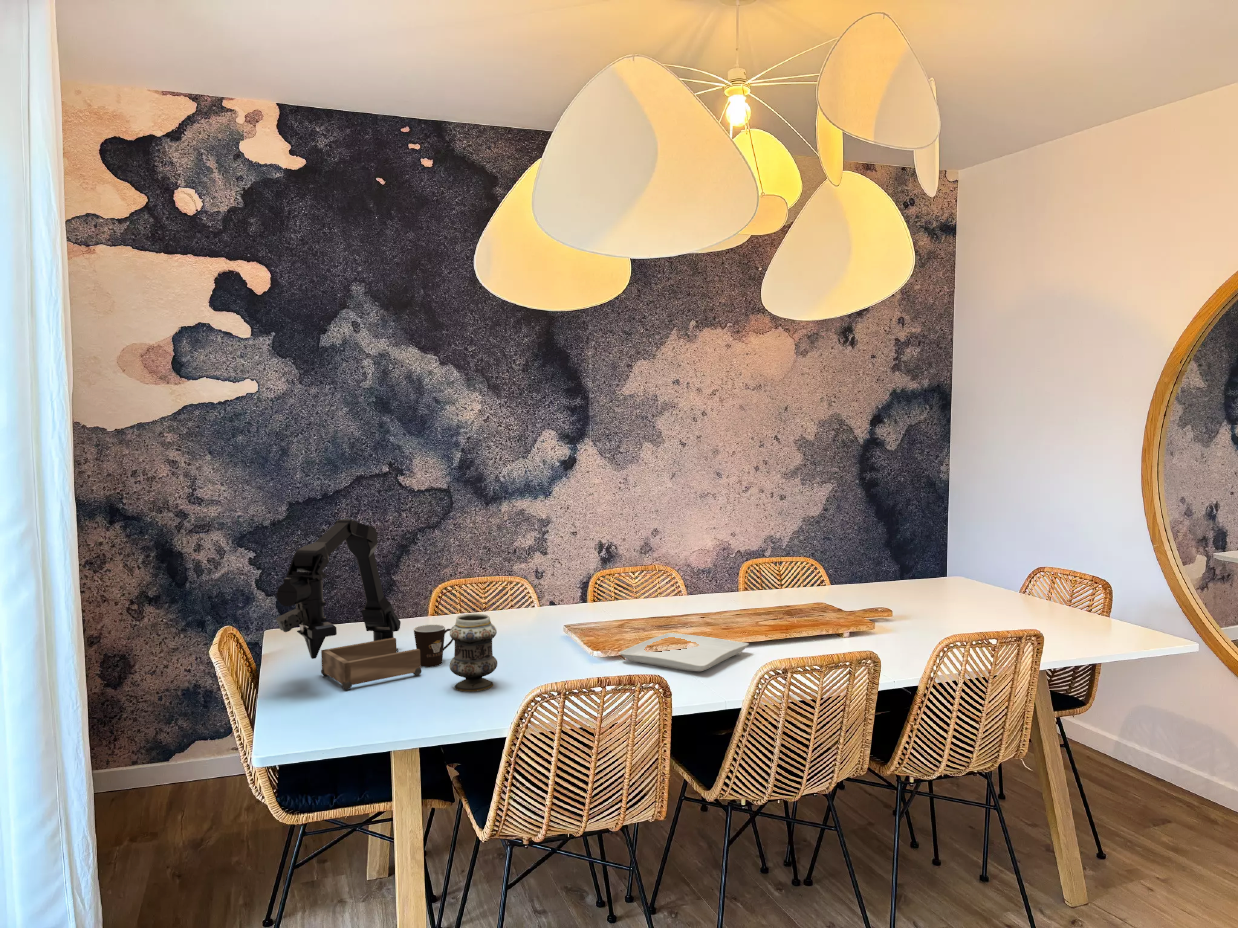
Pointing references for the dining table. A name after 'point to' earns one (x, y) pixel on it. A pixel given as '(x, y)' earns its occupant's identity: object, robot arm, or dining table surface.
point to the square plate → (686, 652)
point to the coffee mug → (430, 644)
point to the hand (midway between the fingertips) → (313, 658)
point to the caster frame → (369, 662)
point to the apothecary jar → (473, 651)
